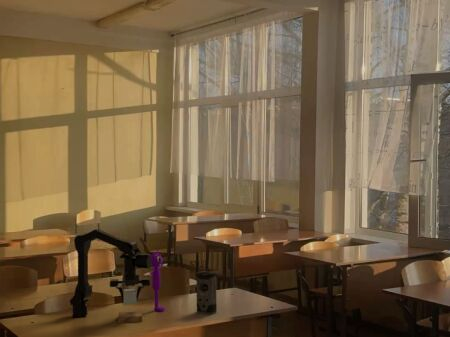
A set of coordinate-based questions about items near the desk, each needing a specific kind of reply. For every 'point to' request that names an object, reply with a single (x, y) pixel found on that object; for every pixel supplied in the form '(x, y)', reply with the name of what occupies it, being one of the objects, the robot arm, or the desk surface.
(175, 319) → the desk surface
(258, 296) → the desk surface
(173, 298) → the desk surface
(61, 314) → the desk surface
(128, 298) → the cube
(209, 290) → the electronic device
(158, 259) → the toy
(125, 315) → the walnut block
